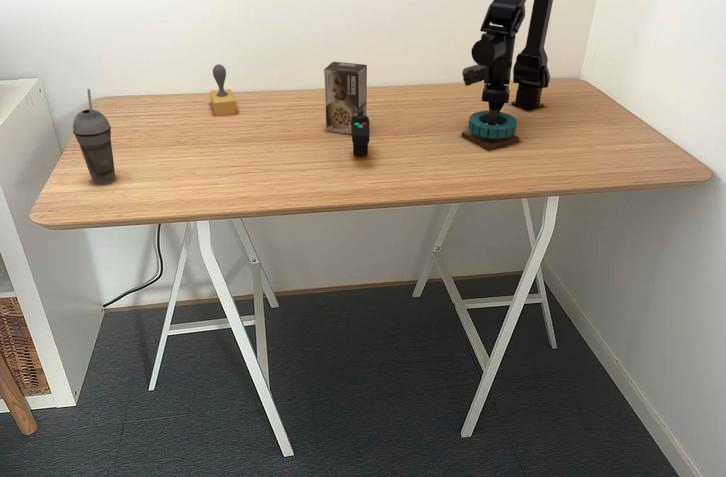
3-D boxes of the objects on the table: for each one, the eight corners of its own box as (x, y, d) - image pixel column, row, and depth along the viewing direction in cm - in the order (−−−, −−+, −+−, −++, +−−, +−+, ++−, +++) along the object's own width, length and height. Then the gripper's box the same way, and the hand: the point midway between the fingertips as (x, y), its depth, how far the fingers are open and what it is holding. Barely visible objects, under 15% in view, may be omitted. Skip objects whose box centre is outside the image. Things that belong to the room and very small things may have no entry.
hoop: (491, 116, 158) (492, 107, 157) (525, 131, 150) (526, 121, 149) (458, 126, 152) (459, 117, 151) (492, 142, 145) (493, 133, 143)
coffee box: (367, 126, 159) (368, 64, 150) (359, 136, 153) (359, 72, 145) (334, 122, 161) (333, 60, 152) (325, 131, 156) (323, 67, 147)
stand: (491, 128, 159) (494, 99, 154) (519, 141, 151) (523, 111, 147) (461, 136, 154) (464, 106, 150) (488, 150, 147) (492, 119, 143)
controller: (368, 146, 148) (369, 106, 143) (370, 168, 138) (370, 126, 133) (350, 146, 148) (350, 106, 143) (351, 168, 138) (350, 126, 133)
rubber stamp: (211, 103, 172) (205, 60, 166) (232, 101, 174) (227, 58, 167) (215, 115, 164) (209, 71, 158) (237, 113, 166) (232, 69, 159)
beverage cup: (91, 172, 135) (69, 83, 124) (125, 171, 136) (106, 82, 125) (81, 188, 129) (57, 95, 118) (117, 187, 130) (96, 95, 119)
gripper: (469, 42, 155) (463, 102, 164) (463, 64, 140) (457, 129, 148) (514, 45, 153) (505, 106, 162) (513, 68, 138) (504, 133, 146)
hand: (492, 117), depth 154 cm, fingers closed on hoop, 2 cm apart
